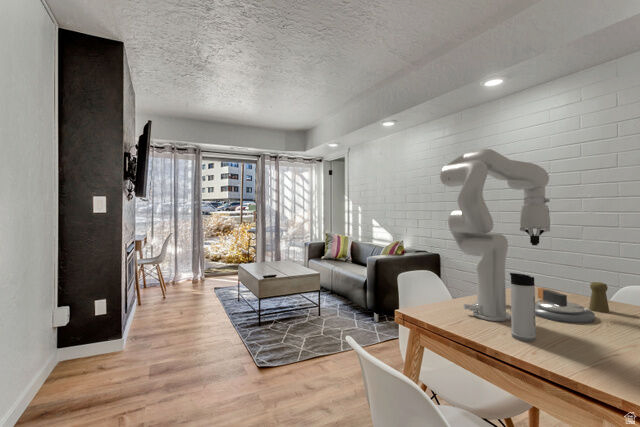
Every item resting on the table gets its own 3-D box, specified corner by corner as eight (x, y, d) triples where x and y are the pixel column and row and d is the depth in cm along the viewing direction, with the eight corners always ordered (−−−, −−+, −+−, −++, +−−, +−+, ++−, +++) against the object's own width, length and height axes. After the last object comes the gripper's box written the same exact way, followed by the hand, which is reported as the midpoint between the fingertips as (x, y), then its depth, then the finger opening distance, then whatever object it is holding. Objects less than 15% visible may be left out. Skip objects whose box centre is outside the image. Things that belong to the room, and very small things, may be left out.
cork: (613, 313, 120) (613, 284, 120) (595, 312, 121) (594, 283, 121) (602, 308, 126) (602, 281, 126) (585, 307, 127) (585, 280, 127)
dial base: (544, 321, 111) (544, 314, 111) (519, 306, 131) (519, 299, 131) (609, 324, 107) (609, 317, 107) (573, 308, 127) (573, 301, 127)
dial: (594, 313, 112) (593, 298, 112) (555, 314, 112) (555, 299, 112) (557, 301, 129) (557, 287, 129) (524, 301, 129) (523, 288, 129)
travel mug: (506, 334, 100) (505, 271, 100) (527, 334, 100) (526, 271, 100) (518, 342, 94) (516, 275, 94) (540, 342, 93) (539, 275, 94)
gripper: (557, 201, 130) (558, 245, 130) (515, 203, 141) (516, 243, 140) (555, 201, 125) (555, 246, 125) (512, 202, 135) (512, 244, 135)
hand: (534, 245), depth 132 cm, fingers closed
